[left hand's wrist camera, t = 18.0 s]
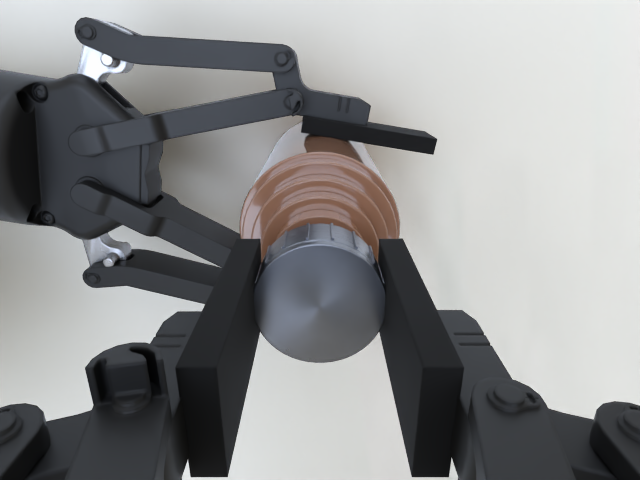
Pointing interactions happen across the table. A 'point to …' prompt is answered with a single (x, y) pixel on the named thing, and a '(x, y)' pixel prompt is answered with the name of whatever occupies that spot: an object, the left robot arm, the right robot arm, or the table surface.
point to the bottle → (319, 191)
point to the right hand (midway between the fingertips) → (411, 211)
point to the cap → (319, 294)
